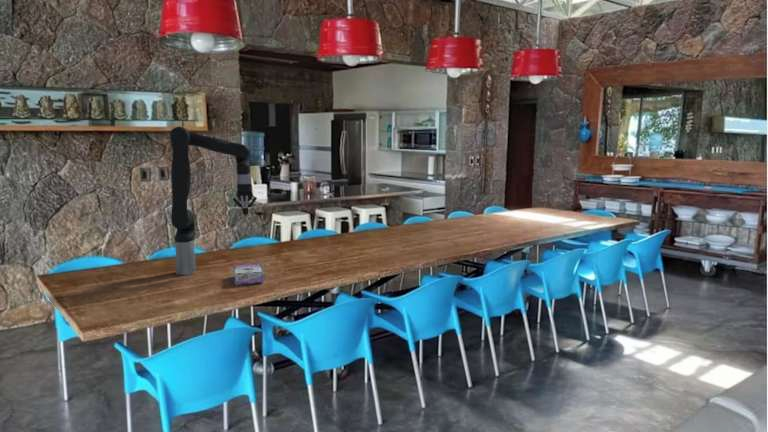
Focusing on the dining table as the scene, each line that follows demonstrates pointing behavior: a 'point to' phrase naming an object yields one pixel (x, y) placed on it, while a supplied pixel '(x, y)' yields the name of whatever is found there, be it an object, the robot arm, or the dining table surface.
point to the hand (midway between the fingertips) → (245, 214)
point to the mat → (231, 279)
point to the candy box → (248, 274)
